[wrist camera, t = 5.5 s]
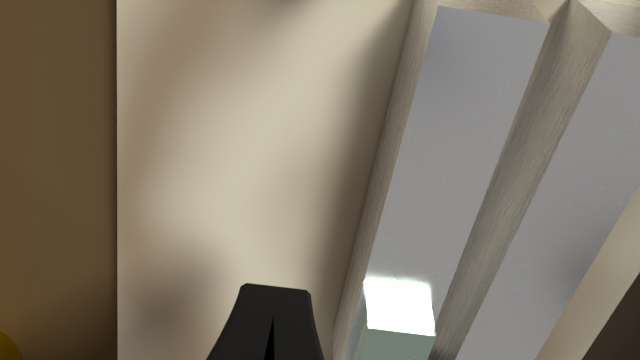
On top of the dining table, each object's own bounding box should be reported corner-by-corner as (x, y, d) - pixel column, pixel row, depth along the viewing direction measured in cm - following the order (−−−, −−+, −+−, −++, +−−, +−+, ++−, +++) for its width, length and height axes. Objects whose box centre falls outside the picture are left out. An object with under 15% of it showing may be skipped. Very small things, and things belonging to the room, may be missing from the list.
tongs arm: (517, -15, 15) (565, 40, 12) (397, 339, 23) (407, 429, 20) (422, -30, 15) (445, 21, 12) (333, 330, 23) (332, 421, 20)
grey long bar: (660, 12, 16) (737, 68, 13) (457, 403, 25) (474, 488, 22) (506, -20, 15) (548, 30, 12) (359, 390, 25) (362, 474, 22)
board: (940, -253, 14) (988, -254, 13) (532, 397, 27) (540, 421, 26) (134, -459, 12) (116, -480, 11) (126, 341, 25) (117, 364, 24)
